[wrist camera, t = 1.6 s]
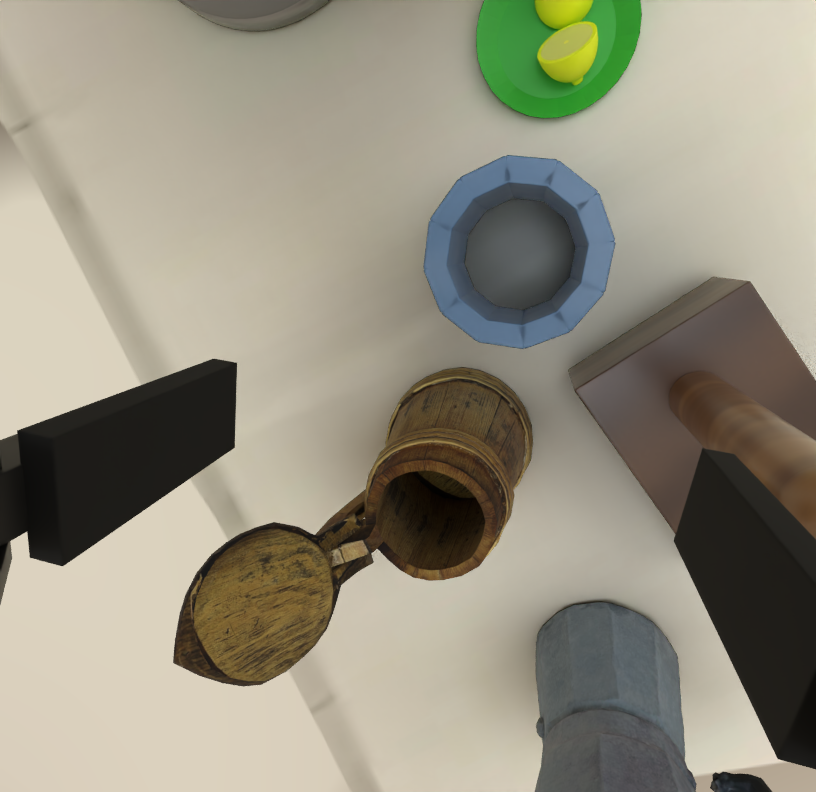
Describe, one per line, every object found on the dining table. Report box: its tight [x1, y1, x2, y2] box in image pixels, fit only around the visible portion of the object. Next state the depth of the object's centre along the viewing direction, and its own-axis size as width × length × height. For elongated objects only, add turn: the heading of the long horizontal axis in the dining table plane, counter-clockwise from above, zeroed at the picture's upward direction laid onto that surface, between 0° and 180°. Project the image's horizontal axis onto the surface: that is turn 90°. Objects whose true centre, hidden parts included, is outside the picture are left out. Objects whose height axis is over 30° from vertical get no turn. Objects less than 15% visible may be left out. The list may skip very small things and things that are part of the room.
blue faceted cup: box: [424, 155, 615, 349], centre depth 27 cm, size 8×8×7 cm
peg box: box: [568, 277, 816, 539], centre depth 22 cm, size 14×9×18 cm, turn 37°
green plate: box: [476, 0, 642, 118], centre depth 26 cm, size 8×8×3 cm
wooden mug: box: [173, 367, 533, 686], centre depth 26 cm, size 9×14×18 cm, turn 111°
